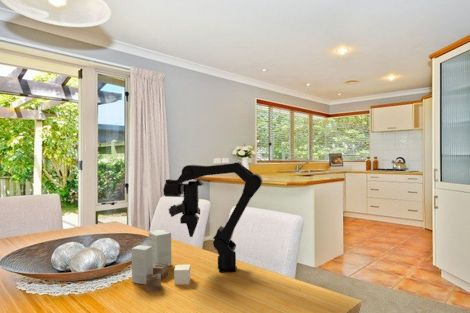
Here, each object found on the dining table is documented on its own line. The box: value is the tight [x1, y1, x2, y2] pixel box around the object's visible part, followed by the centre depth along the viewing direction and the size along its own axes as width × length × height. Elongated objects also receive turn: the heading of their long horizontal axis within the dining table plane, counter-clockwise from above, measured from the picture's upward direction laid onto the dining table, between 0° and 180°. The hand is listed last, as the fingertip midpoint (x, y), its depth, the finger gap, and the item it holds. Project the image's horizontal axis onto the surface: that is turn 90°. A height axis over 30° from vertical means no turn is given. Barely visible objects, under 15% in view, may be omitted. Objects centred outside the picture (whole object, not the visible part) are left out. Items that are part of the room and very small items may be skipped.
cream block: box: [173, 264, 191, 286], centre depth 105 cm, size 5×5×5 cm
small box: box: [148, 229, 172, 267], centre depth 121 cm, size 8×6×13 cm
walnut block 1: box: [153, 263, 169, 280], centre depth 110 cm, size 4×4×4 cm
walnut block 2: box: [145, 273, 162, 293], centre depth 100 cm, size 4×4×4 cm
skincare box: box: [131, 244, 153, 285], centre depth 105 cm, size 6×4×12 cm
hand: (191, 236), depth 118 cm, fingers closed
